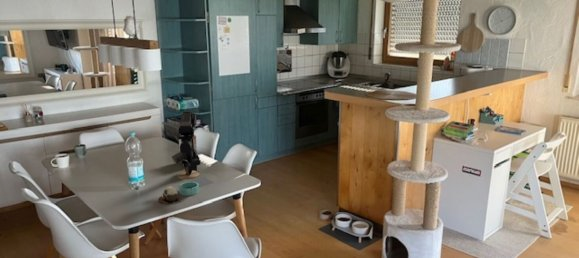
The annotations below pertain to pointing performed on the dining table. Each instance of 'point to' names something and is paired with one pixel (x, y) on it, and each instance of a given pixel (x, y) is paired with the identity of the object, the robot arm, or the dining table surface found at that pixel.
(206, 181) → the mat
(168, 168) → the dining table surface
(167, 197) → the skull
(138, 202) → the dining table surface
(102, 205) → the dining table surface
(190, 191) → the bowl
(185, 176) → the lid
